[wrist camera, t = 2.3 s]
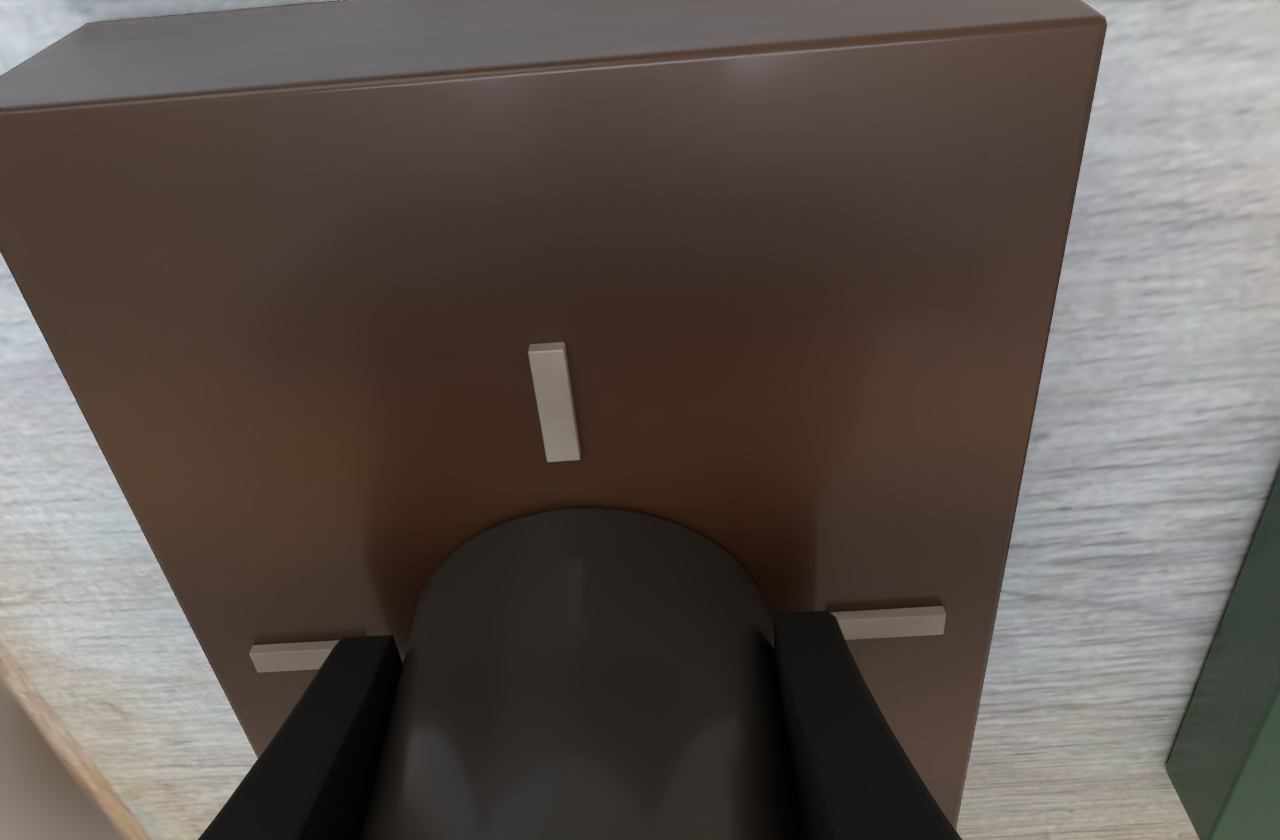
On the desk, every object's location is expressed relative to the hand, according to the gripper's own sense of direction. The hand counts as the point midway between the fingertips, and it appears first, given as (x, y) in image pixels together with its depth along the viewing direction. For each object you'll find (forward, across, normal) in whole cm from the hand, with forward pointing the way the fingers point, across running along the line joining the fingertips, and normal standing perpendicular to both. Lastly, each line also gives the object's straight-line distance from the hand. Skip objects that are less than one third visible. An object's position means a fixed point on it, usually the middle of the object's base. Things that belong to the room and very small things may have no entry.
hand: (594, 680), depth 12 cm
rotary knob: (+1, 0, 0) cm, 1 cm away
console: (+4, 0, 0) cm, 4 cm away
